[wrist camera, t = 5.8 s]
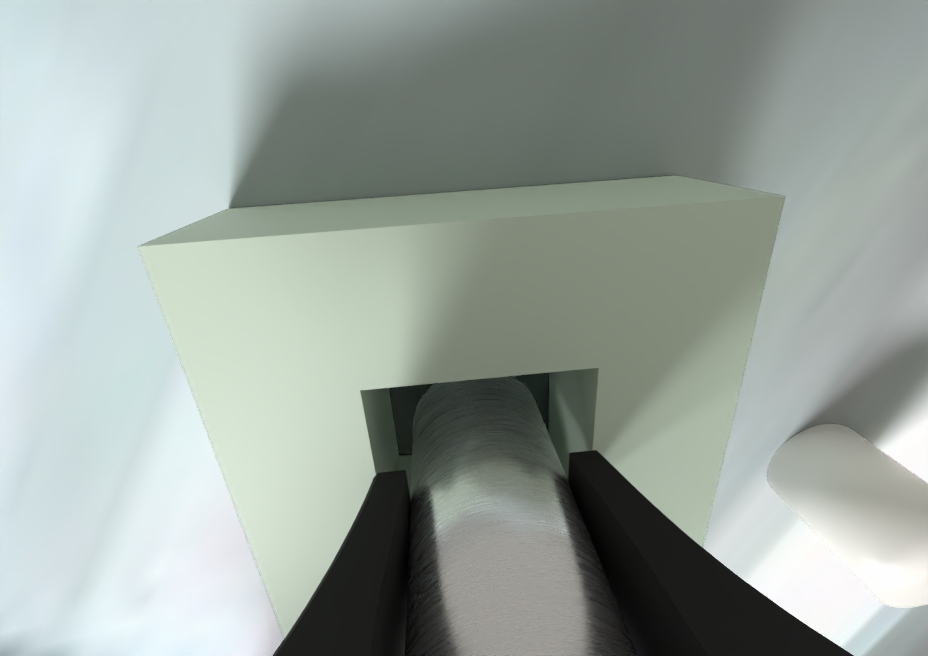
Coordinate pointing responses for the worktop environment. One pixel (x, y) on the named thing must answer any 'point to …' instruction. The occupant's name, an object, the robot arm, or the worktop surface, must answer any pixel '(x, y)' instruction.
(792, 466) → the short pin
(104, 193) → the worktop surface
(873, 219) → the worktop surface
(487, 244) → the hole block
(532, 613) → the long pin
